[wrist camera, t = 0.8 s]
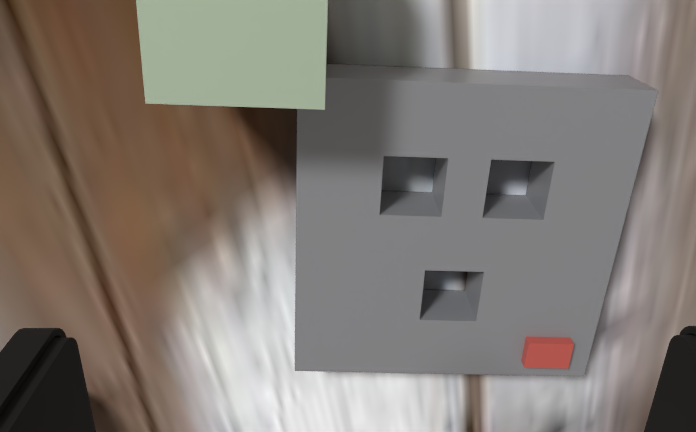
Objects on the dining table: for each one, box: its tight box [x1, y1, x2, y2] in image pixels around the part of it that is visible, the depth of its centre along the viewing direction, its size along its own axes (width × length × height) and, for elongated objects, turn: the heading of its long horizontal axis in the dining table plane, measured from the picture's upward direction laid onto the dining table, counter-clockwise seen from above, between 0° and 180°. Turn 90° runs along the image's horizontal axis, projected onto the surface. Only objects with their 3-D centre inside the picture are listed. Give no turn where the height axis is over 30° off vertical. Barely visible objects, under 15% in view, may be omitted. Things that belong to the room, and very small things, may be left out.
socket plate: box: [295, 64, 658, 376], centre depth 31 cm, size 16×16×4 cm
